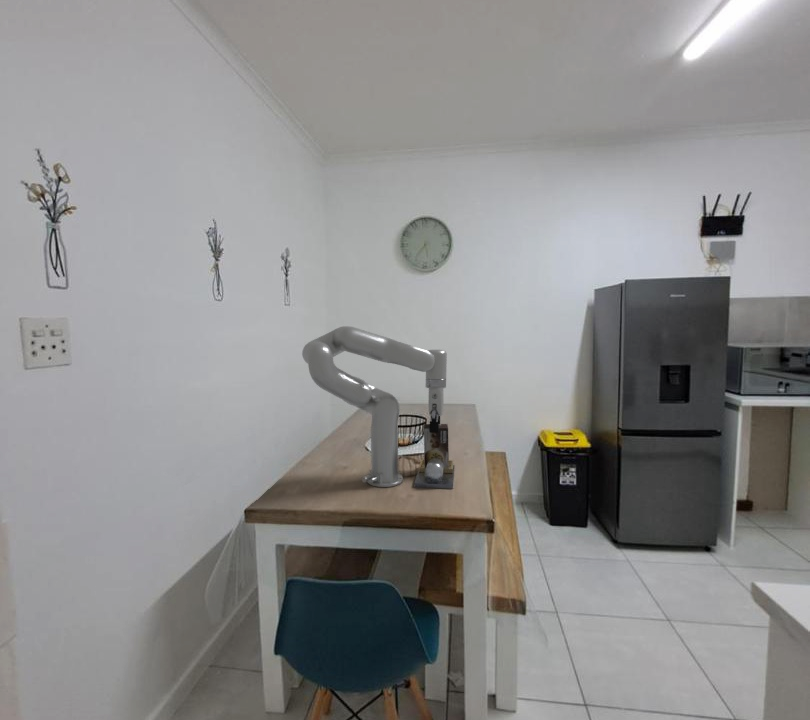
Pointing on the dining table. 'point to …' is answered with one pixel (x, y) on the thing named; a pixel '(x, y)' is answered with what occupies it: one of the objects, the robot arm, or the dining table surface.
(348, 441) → the dining table surface
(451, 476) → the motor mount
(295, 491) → the dining table surface
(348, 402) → the robot arm
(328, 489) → the dining table surface
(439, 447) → the coffee box
